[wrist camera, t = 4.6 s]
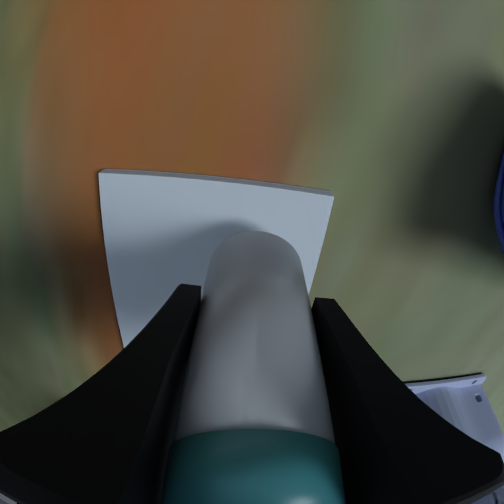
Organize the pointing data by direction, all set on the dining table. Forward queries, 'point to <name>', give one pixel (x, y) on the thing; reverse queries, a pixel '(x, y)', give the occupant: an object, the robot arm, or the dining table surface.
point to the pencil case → (500, 205)
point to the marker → (254, 387)
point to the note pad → (193, 231)
